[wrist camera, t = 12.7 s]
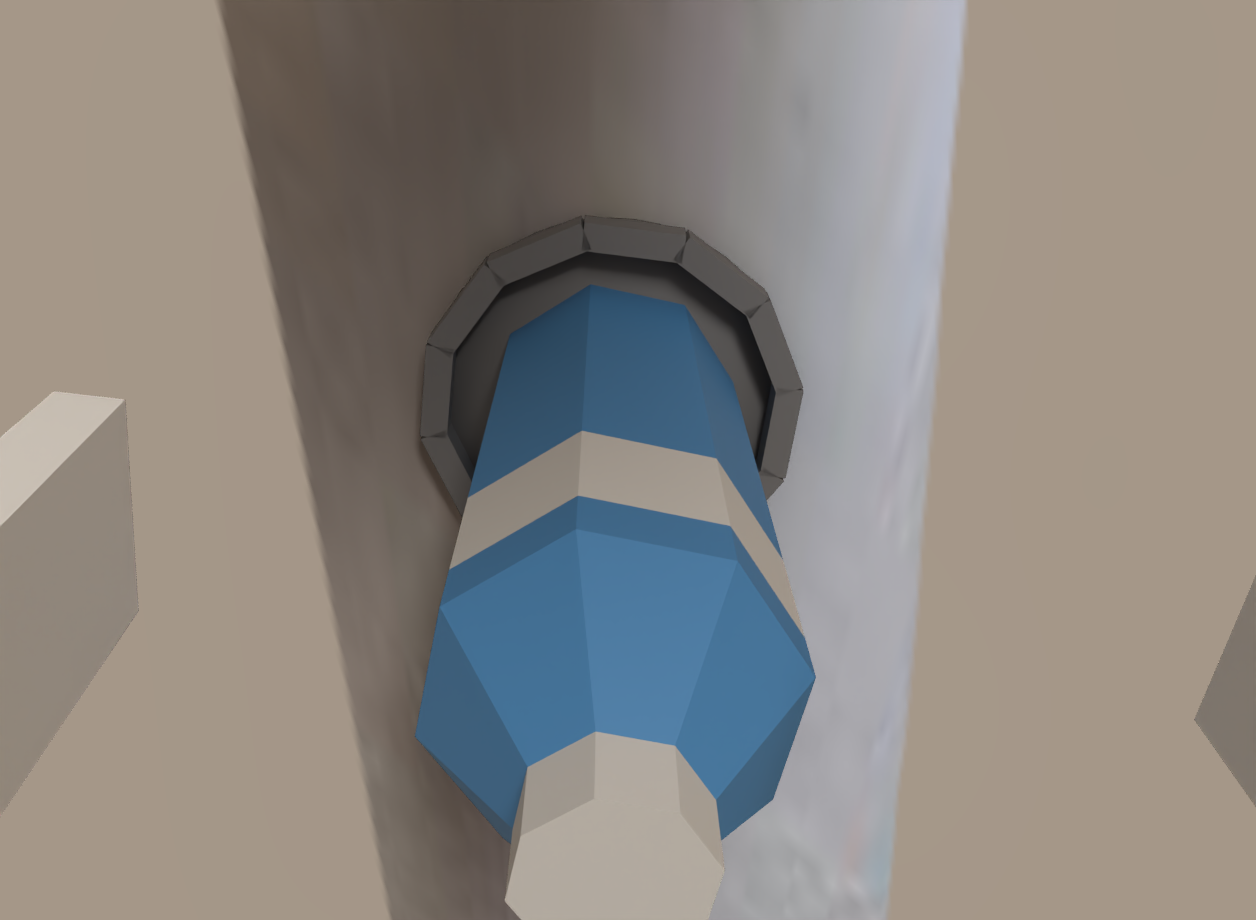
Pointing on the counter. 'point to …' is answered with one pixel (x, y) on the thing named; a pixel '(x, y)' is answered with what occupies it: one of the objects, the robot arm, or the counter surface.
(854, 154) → the counter surface
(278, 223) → the counter surface
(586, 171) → the counter surface
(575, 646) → the water bottle
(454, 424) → the coaster ring
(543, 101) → the counter surface
